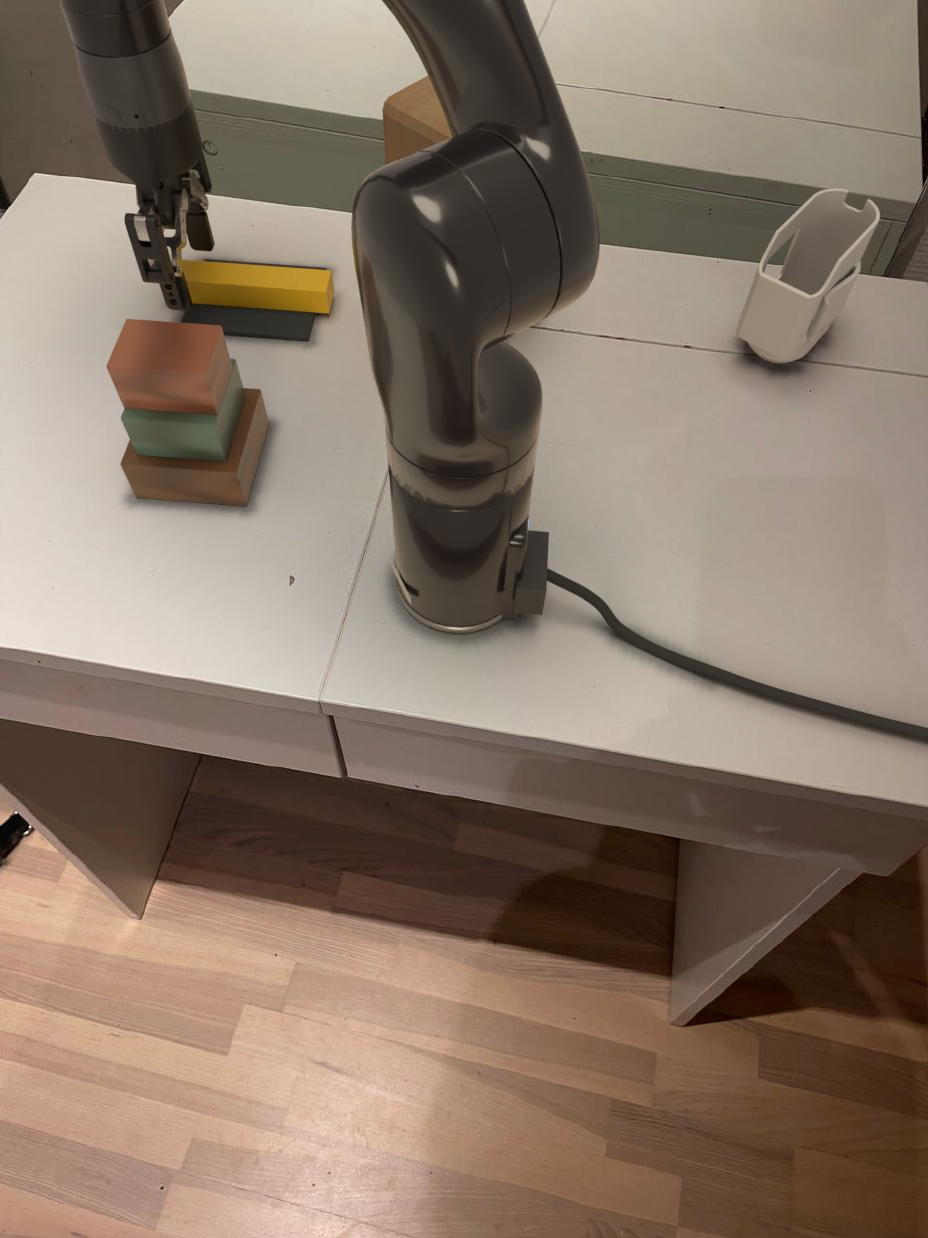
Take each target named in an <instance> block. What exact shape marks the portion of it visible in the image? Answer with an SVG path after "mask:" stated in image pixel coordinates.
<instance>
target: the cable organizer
mask: <svg viewBox="0 0 928 1238" xmlns="http://www.w3.org/2000/svg"><path fill="white" fill-rule="evenodd" d="M849 192H850V190H849V189H846V188H826V189H823V190H819V191H817V192H815V193H813V194H812V195H811V197H809V198H808V199H807V201H805V202H804V203H803V204H802V205H801V206H800V207H799V208H798V209H797V210H796V211H795V212H794V213H793V214H792V215H791V216H790V217H789V218H788V219H787V220H786V221H785V222H784V223H783V224H782V225H781V226H780V227H778V228H777V230H775V232H774V234H773V235H772V238H771V240H770V241H769V244H768V245H767V247H766V248H765V251H764V253H763V255H762V257H761V259H760V261H759V264H758V266H757V270H756V272H755V275H754V278H753V281H752V284H751V285H750V289H749V292H748V295H747V298H746V301H745V303H744V306H743V309H742V311H741V314H740V317H739V320H738V323H737V326H736V335H737V337H738V338H739V339H742V340H743V341H745V342H747V344H748V345H749V347H750V348H751V349H752V351H753V352H754V353H755V354H756V355H757V356H758V357H759V358H760V359H762V360H764V361H766V362H768V363H772V364H786V363H791V362H794V361H797V360H799V359H802V358H803V357H805V355H807V354H808V353H809V352H810V350H812V348H813V347H814V346H815V345H816V344H817V343H818V342H819V340H820V339H821V338H822V337H823V336H824V335H825V333H826V332H827V331H828V330H829V329H830V327H831V325H832V322H833V320H834V319H836V318H837V317H839V315H840V314H841V312H842V311H843V309H844V306H845V304H846V302H847V300H848V298H849V296H850V293H851V291H852V289H853V287H854V285H855V283H856V281H857V278H858V277H859V274H860V272H861V269H862V263H861V260H862V258H863V256H864V254H865V251H866V249H867V248H868V246H869V243H870V241H871V239H872V236H874V235H873V234H874V233H875V231H876V228H877V226H878V224H879V221H880V219H881V211H880V209H879V207H878V206H877V204H875V202H874V201H873V200H872V199H870V198H868V199H867V200H866V202H865V204H864V206H863V208H862V209H861V210H859V209H858V208H855V207H853V206H851V205H848V204H847V203H846V198H847V196H848V194H849ZM792 237H793V238H792ZM791 238H792V241H791V243H790V246H789V248H788V251H787V254H786V257H785V259H784V261H783V265H782V267H781V270H780V273H779V274H778V275H777V276H776V277H773V276H771V275H769V274H767V273H765V271H766V269H767V265H768V263H769V260H770V258H772V256H773V255H775V254H776V252H778V251H779V250H780V248H782V246H784V245H785V244H786V243H787V242H788V240H790V239H791Z"/></svg>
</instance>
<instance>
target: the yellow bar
mask: <svg viewBox="0 0 928 1238" xmlns="http://www.w3.org/2000/svg"><path fill="white" fill-rule="evenodd" d="M171 262H172V259H171ZM182 269H183V272H184V275H185V279H186V282H187V286H188V289H189V292H190V296H191V299H192V303H195V304H208V305H221V306H235V307H248V308H261V309H275V310H288V311H301V312H315V313H316V314H330V312H331V308H332V304H333V300H334V296H335V286H334V278H333V271H332V270H329V269H327V270H317V269H303V268H290V267H276V266H262V265H249V264H235V263H222V262H208V261H204V260H195V259H194V260H192V259H182Z"/></svg>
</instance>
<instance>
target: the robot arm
mask: <svg viewBox="0 0 928 1238" xmlns="http://www.w3.org/2000/svg"><path fill="white" fill-rule="evenodd" d="M381 2H382V3H383V5H384V6H386V8H387V9H388V10H389V12H390V13H391V14H392V15H393V17H394V18H395V20H396V21H397V23H398V24H399V26H400V27H401V29H402V30H403V31H404V33H405V34H406V36H407V37H408V39H409V41H410V43H411V44H412V46H413V48H414V50H415V51H416V54H417V55H418V57H419V59H420V61H421V64H422V65H423V68H424V69H425V72H426V74H427V76H429V78H430V80H431V83H432V85H433V87H434V89H435V92H436V94H437V96H438V99H439V101H440V104H441V106H442V109H443V111H444V114H445V117H446V119H447V122H448V125H449V128H450V131H451V134H452V138H449V139H447V140H444V141H442V142H440V143H437V144H435V145H432V146H430V147H428V148H425V149H423V150H420V151H418V152H415V153H413V154H411V155H409V156H406V157H404V158H401V159H399V160H397V161H394V162H392V163H390V164H387V165H386V164H385V165H383V166H381V167H379V168H377V169H375V170H374V171H372V172H370V173H369V174H368V175H366V177H365V178H364V179H363V180H362V181H361V183H360V185H359V187H358V189H357V190H356V191H357V192H356V194H355V197H354V199H353V206H352V211H351V223H350V231H351V248H352V254H353V261H354V262H353V263H354V271H355V276H356V281H357V287H358V292H359V298H360V305H361V309H362V310H361V311H362V315H363V322H364V330H365V337H366V343H367V351H368V357H369V362H370V368H371V372H372V376H373V380H374V383H375V387H376V390H377V394H378V397H379V400H380V404H381V407H382V411H383V419H384V428H385V430H384V431H385V441H386V452H387V454H386V455H387V464H388V465H387V467H388V475H389V476H388V477H389V478H388V479H389V491H390V503H391V505H390V506H391V512H392V513H391V515H392V528H393V543H394V552H395V553H394V554H395V564H394V562H393V561H392V558H390V557H389V559H390V567H391V569H392V572H393V574H394V575H395V578H396V581H395V582H396V588H397V593H398V597H399V599H400V601H401V602H402V605H403V606H404V607H405V609H406V610H407V611H408V612H409V614H411V616H412V617H414V618H415V619H416V620H417V621H418V622H421V623H423V625H425V626H427V627H429V628H432V629H435V630H437V631H441V632H446V633H454V634H466V633H473V632H478V631H481V630H484V629H486V628H490V627H491V626H493V625H495V624H497V623H498V622H500V621H501V620H516V619H517V618H518V614H526V615H539V616H542V615H543V613H544V606H545V601H546V595H547V588H548V587H547V585H548V582H549V583H550V584H552V585H555V586H557V587H559V588H560V589H562V590H565V591H567V592H569V593H571V594H573V595H575V596H576V597H579V598H580V599H582V600H583V601H585V602H587V603H588V604H589V605H590V606H592V607H593V608H595V610H596V611H598V613H599V614H600V615H601V617H602V618H603V619H604V621H605V623H606V624H607V625H608V627H609V628H610V629H611V630H612V631H613V632H614V633H615V634H617V635H618V636H620V637H621V638H623V639H624V640H625V641H627V642H629V643H630V644H631V645H633V646H635V647H637V648H638V649H640V650H642V651H645V652H646V653H648V654H650V655H653V656H654V657H657V658H659V659H661V660H663V661H665V662H668V663H671V664H673V665H676V666H679V667H682V668H684V669H686V670H690V671H693V672H695V673H699V674H701V675H704V676H707V677H709V678H712V679H715V680H718V681H720V682H723V683H725V684H728V685H731V686H734V687H736V688H739V689H742V690H745V691H748V692H751V693H754V694H757V695H760V696H762V697H766V698H769V699H772V700H775V701H779V702H782V703H786V704H789V705H792V706H796V707H799V708H803V709H806V710H810V711H813V712H817V713H820V714H823V715H824V714H825V715H828V716H831V717H834V718H839V719H843V720H846V721H849V722H853V723H857V724H861V725H864V726H869V727H873V728H876V729H881V730H884V731H888V732H892V733H897V734H901V735H905V736H909V737H913V738H918V739H921V740H927V741H928V727H926V726H922V725H918V724H913V723H910V722H904V721H901V720H897V719H896V720H895V719H892V718H887V717H884V716H880V715H876V714H872V713H868V712H864V711H860V710H857V709H853V708H849V707H845V706H842V705H839V704H835V703H832V702H827V701H824V700H821V699H816V698H813V697H809V696H806V695H802V694H799V693H795V692H792V691H788V690H785V689H781V688H778V687H775V686H771V685H769V684H765V683H764V682H759V681H756V680H754V679H751V678H748V677H745V676H742V675H739V674H736V673H735V672H734V673H733V672H731V671H728V670H725V669H724V668H720V667H717V666H714V665H712V664H709V663H706V662H704V661H700V660H697V659H695V658H692V657H689V656H686V655H683V654H681V653H678V652H676V651H673V650H670V649H669V648H665V647H663V646H661V645H659V644H657V643H655V642H653V641H652V640H651V641H650V640H649V639H647V638H645V637H643V636H642V635H640V634H639V633H637V632H635V631H634V630H632V629H631V628H629V627H628V626H627V625H625V624H624V623H622V622H621V621H620V620H619V618H618V617H617V616H616V615H615V613H614V612H613V611H612V609H611V608H610V606H609V604H608V603H607V602H606V601H605V600H604V599H603V598H602V597H600V596H599V595H598V594H597V593H595V592H593V591H592V590H591V589H589V588H587V587H586V586H584V585H582V584H581V583H579V582H577V581H575V580H572V579H570V578H568V577H566V576H564V575H562V574H560V573H558V572H556V571H554V570H552V569H550V568H548V565H549V564H548V562H549V541H550V540H549V538H550V532H549V531H540V530H529V525H530V519H529V518H530V504H531V497H532V490H533V482H534V474H535V467H536V460H537V451H538V443H539V436H540V429H541V421H542V415H543V405H544V404H543V403H544V393H543V387H542V382H541V380H540V376H539V375H538V372H537V370H536V369H535V367H534V365H533V364H532V363H531V362H530V361H529V359H528V358H527V357H525V356H524V355H523V353H521V352H520V351H519V350H517V349H516V348H515V347H513V346H511V345H510V344H508V343H506V342H504V341H505V340H508V339H510V338H511V337H513V336H515V335H517V334H519V333H520V332H522V331H525V330H526V329H528V328H530V327H532V326H534V325H536V324H537V323H539V322H541V321H543V320H545V319H547V318H550V317H551V316H553V315H555V314H557V313H558V312H560V311H562V310H564V309H566V308H567V307H569V306H571V305H572V304H573V303H575V302H576V301H578V300H579V299H580V298H581V297H583V296H584V294H585V293H586V292H587V291H588V290H589V288H590V286H591V284H592V283H593V281H594V279H595V277H596V274H597V269H598V265H599V259H600V247H601V239H600V227H599V226H600V225H599V217H598V213H597V207H596V201H595V197H594V192H593V188H592V184H591V180H590V177H589V173H588V170H587V167H586V163H585V161H584V157H583V155H582V151H581V149H580V146H579V143H578V140H577V138H576V135H575V132H574V129H573V127H572V124H571V122H570V118H569V116H568V113H567V110H566V108H565V105H564V102H563V100H562V97H561V94H560V92H559V88H558V87H557V84H556V81H555V78H554V76H553V73H552V70H551V67H550V66H549V62H548V60H547V57H546V55H545V52H544V49H543V46H542V44H541V42H540V41H541V40H540V39H539V36H538V33H537V31H536V28H535V26H534V23H533V20H532V17H531V15H530V12H529V10H528V7H527V4H526V2H525V0H381ZM58 3H59V6H60V9H61V12H62V14H63V17H64V21H65V23H66V26H67V29H68V33H69V35H70V38H71V42H72V44H73V48H74V53H75V55H76V62H77V66H78V71H79V75H80V78H81V81H82V84H83V87H84V90H85V93H86V96H87V99H88V102H89V105H90V108H91V111H92V114H93V117H94V120H95V123H96V126H97V129H98V132H99V135H100V138H101V141H102V144H103V147H104V149H105V152H106V156H107V158H108V161H109V163H110V165H111V166H112V167H113V168H114V169H115V170H116V171H117V172H118V173H120V174H121V175H123V176H124V177H126V179H129V180H130V182H132V183H133V184H134V185H135V196H136V199H135V200H136V205H137V207H138V208H139V209H138V211H137V213H134V212H133V213H132V212H126V213H125V214H124V226H125V228H126V233H127V235H128V238H129V241H130V242H129V243H130V245H131V248H132V252H133V255H134V259H135V261H136V264H137V267H138V271H139V273H140V276H141V280H142V282H143V283H148V284H159V287H160V291H161V294H162V296H163V299H164V303H165V305H166V307H167V308H168V309H170V310H172V311H183V312H185V311H188V310H190V308H191V306H192V299H191V296H190V292H189V289H188V286H187V282H186V279H185V275H184V272H183V269H182V260H183V256H182V255H183V253H182V251H183V249H184V248H186V246H187V244H188V245H189V247H190V249H192V250H193V251H195V252H196V251H197V252H212V251H213V250H214V247H215V244H216V243H215V239H214V235H213V231H212V226H211V223H210V218H209V215H208V210H209V206H210V202H209V199H208V197H207V195H206V193H211V192H212V188H213V183H212V180H211V176H210V173H209V170H208V169H209V168H208V167H207V166H208V165H207V162H206V158H205V154H204V151H203V150H204V148H203V141H202V137H201V133H200V128H199V124H198V120H197V115H196V112H195V108H194V107H195V106H194V103H193V99H192V95H191V91H190V88H189V82H188V78H187V75H186V70H185V67H184V62H183V58H182V56H181V53H180V50H179V48H178V45H177V42H176V40H175V37H174V34H173V29H172V27H171V24H170V23H171V22H170V20H169V16H168V11H167V8H166V7H167V6H166V3H165V0H58ZM194 171H196V172H197V174H198V176H199V177H197V174H196V173H195V172H194ZM165 230H174V235H173V236H165ZM168 247H169V248H170V252H169V248H168ZM170 255H171V256H170ZM171 260H172V262H171Z"/></svg>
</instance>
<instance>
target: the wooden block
mask: <svg viewBox="0 0 928 1238" xmlns="http://www.w3.org/2000/svg"><path fill="white" fill-rule="evenodd" d="M382 125H383V126H382V127H383V141H384V158H385V159H384V160H385V165H387V164H390V163H392V162H394V161H397V160H399V159H401V158H404V157H406V156H409V155H411V154H413V153H415V152H418V151H420V150H423V149H425V148H428V147H430V146H432V145H435V144H437V143H440V142H442V141H444V140H447V139H449V138H452V134H451V131H450V128H449V125H448V122H447V119H446V117H445V114H444V111H443V109H442V106H441V104H440V101H439V99H438V96H437V94H436V92H435V89H434V87H433V85H432V83H431V80H430V78H429V76H428V75H425V76H424V77H422V78H420V79H419V80H417V81H415V82H413V83H411V84H409V85H408V86H406V87H404V88H401V89H400V90H398V91H396V92H395V93H393V94H390V95H389V96H388V97H387V98H386V100H384V102H383V106H382Z"/></svg>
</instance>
